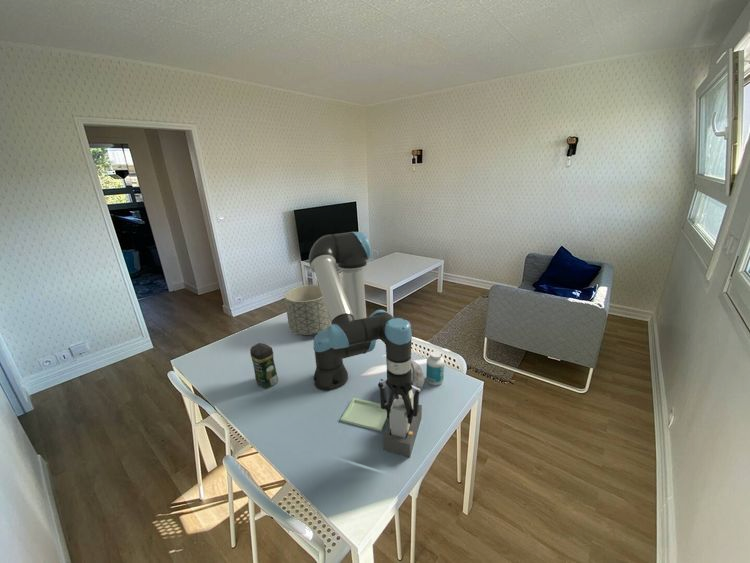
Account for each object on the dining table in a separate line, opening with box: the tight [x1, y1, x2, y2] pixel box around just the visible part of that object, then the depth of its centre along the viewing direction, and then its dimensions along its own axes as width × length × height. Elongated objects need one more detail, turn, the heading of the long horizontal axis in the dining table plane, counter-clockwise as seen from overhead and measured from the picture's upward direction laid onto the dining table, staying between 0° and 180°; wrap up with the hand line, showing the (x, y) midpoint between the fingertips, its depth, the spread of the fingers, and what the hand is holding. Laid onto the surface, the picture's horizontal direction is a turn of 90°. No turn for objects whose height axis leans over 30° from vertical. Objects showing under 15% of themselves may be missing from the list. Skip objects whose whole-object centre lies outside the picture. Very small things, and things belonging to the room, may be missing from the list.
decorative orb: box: [396, 359, 425, 396], centre depth 125 cm, size 15×14×15 cm
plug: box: [391, 398, 407, 439], centre depth 100 cm, size 4×4×13 cm
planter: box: [284, 284, 332, 336], centre depth 178 cm, size 25×25×24 cm
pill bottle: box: [425, 350, 445, 386], centre depth 132 cm, size 8×7×14 cm
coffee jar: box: [249, 342, 279, 389], centre depth 134 cm, size 10×8×19 cm
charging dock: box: [382, 390, 423, 458], centre depth 105 cm, size 9×18×15 cm, turn 160°
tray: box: [340, 397, 388, 433], centre depth 116 cm, size 16×12×2 cm
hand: (399, 427), depth 101 cm, fingers closed on plug, 4 cm apart
